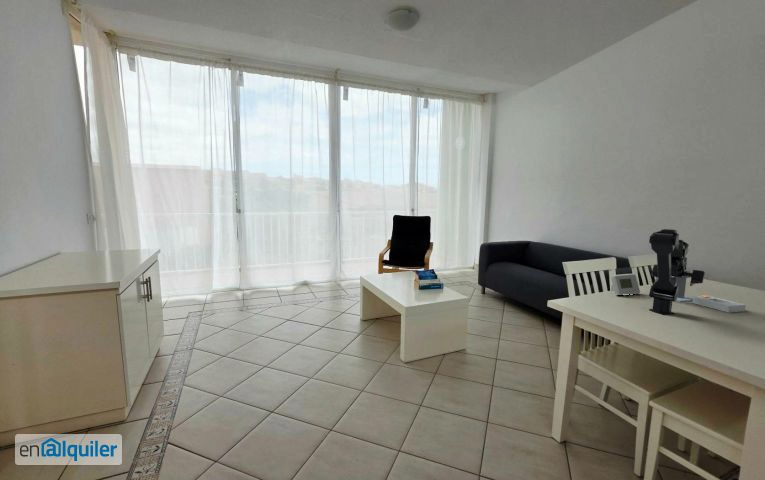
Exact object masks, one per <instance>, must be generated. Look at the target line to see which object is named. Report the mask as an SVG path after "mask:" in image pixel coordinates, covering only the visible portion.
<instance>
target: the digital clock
mask: <svg viewBox="0 0 765 480" xmlns="http://www.w3.org/2000/svg"><path fill="white" fill-rule="evenodd" d="M637 278H638V277H637V276H636V274H635V273H622V274H621V273H619V274H614V275H611V276H610V279H611V289H610V292H611V291H614V292H615V294H617V295H623V294H635V295H639V294H640V293H641V290H640V287H639V283H638V279H637ZM615 294H614V295H615Z"/></svg>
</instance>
